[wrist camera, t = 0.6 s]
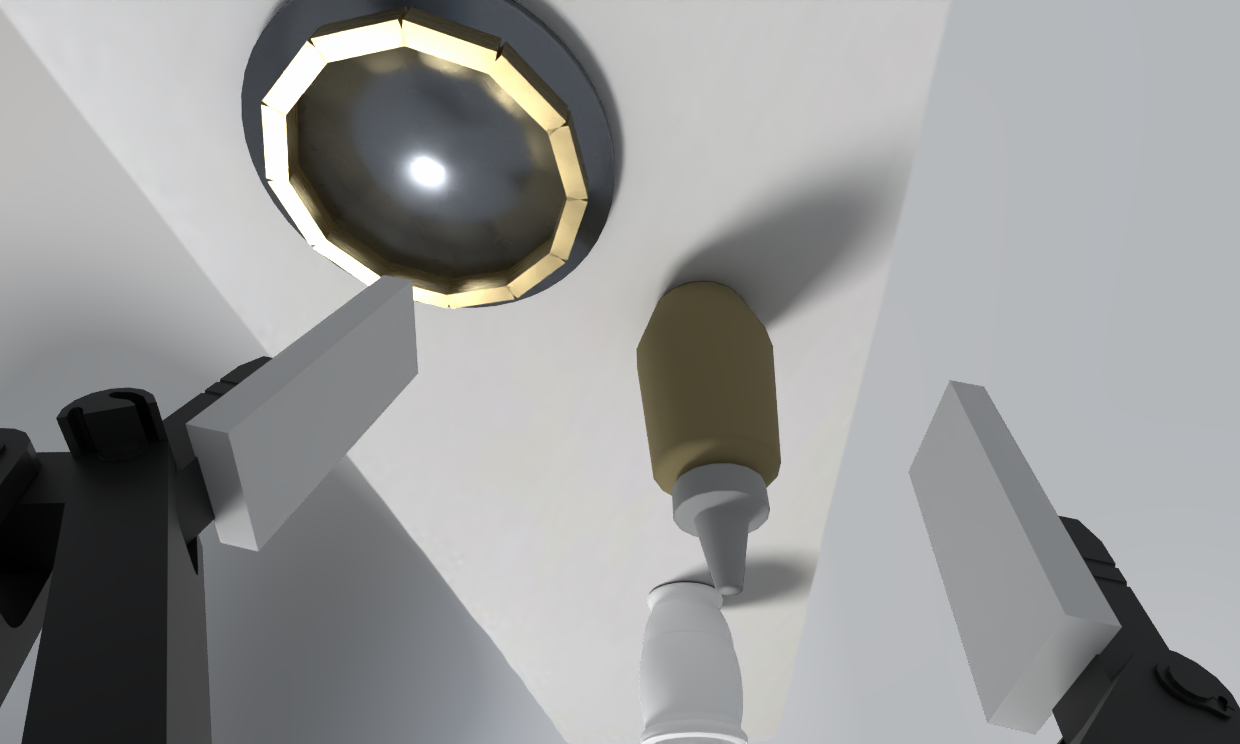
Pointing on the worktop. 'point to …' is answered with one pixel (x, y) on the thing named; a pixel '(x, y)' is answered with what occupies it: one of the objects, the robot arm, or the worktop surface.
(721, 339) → the squeeze bottle
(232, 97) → the worktop surface
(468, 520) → the worktop surface
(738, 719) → the jar
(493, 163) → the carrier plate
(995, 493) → the robot arm
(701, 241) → the worktop surface
